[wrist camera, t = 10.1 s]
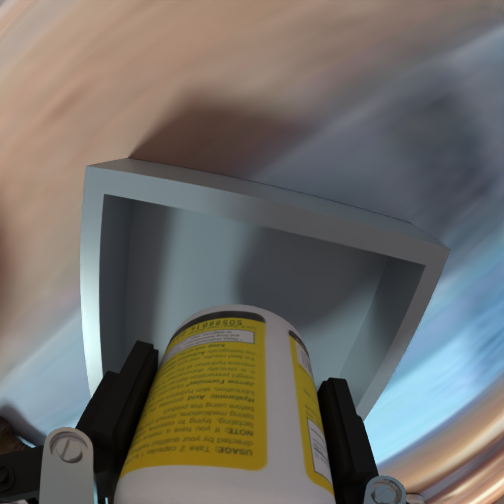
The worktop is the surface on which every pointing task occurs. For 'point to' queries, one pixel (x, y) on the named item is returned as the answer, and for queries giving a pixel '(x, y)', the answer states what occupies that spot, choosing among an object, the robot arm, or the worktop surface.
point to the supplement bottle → (230, 417)
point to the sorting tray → (248, 269)
